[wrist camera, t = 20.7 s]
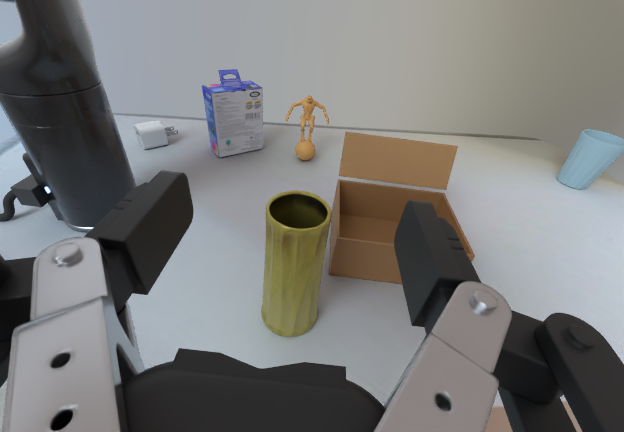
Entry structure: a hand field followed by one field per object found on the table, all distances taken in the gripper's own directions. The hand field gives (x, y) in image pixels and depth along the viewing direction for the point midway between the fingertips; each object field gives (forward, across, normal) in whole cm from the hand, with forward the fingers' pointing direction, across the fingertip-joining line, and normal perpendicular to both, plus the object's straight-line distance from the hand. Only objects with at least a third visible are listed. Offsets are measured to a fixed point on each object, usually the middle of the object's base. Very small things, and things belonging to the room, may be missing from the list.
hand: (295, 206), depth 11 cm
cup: (+49, -56, +22) cm, 78 cm away
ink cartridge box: (+46, +16, +22) cm, 53 cm away
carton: (+22, -12, +22) cm, 33 cm away
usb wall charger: (+44, +31, +22) cm, 58 cm away
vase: (+10, 0, +22) cm, 24 cm away
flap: (+29, -12, +12) cm, 33 cm away
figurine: (+46, +2, +22) cm, 51 cm away
